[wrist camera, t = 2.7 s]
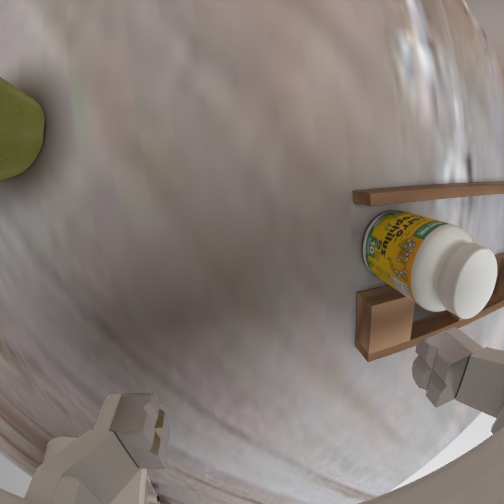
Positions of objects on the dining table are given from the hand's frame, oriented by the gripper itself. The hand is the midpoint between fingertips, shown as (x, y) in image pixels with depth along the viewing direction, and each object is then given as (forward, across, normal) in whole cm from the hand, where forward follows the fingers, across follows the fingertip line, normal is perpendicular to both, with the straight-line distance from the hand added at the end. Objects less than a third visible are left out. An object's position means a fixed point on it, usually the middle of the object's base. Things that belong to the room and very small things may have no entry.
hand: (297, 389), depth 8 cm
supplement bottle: (+13, -11, +1) cm, 17 cm away
